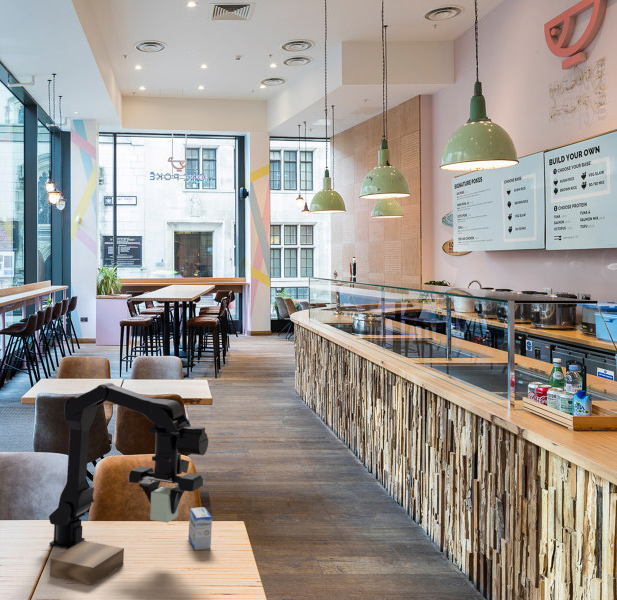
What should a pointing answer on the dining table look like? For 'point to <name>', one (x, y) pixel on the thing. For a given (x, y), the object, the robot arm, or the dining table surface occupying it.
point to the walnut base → (86, 562)
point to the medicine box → (200, 528)
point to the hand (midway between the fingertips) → (164, 511)
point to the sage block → (162, 505)
